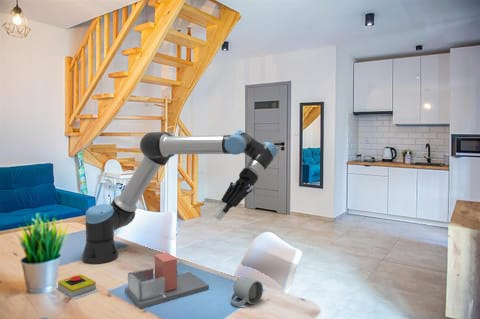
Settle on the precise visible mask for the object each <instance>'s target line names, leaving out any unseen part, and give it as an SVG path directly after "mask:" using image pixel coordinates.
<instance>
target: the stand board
mask: <svg viewBox="0 0 480 319" xmlns="http://www.w3.org/2000/svg"><path fill="white" fill-rule="evenodd" d="M209 289H210V284H208V283H206V282H205V280H204V281H203V280H202V279H201V278H199V277H198V276H196V275H195V274H193V272H191V271H188V272H185V273H184V272H183V273H179V274H178V275H177V289H173V290H169V291H166V292H165V295H162V296H159V297H155V298H151V299H148V300H144V301H140V302H139V301H138V300H137V299H136V297H135V296H134V295H133V294H132V293H131V292H130V291H129V290H128V286H126V287H125V288H124V292H125V294H126V295H127V296H128V298H129V299H131V300H132V302H133V303H134V304H135V305H136V306H137V307H138V309H140V310H141V309H145V308H147V307H152V306H154V305H158V304H162V303H165V302H169V301H172V300H175V299H176V300H177V299H179V298H182V297H186V296H190V295H193V294H197V293H200V292H204V291H208V290H209Z"/></svg>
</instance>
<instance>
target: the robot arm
mask: <svg viewBox="0 0 480 319" xmlns="http://www.w3.org/2000/svg"><path fill="white" fill-rule="evenodd" d="M139 149H140V151H141V153H142V154H143V157H142V160H141V161H140V163H139V165H138V166H137V167H136V168H135V171H134V172H133V174H132V176H131V177H130V179H129V180H128V182H127V184H126V185H125V186H124V188H123V190H122V191H121V192H120V194H119V195H116V196H115V197H114V198H113V199H112V201H111V203H110V204H109V203H107V204H106V203H105V204H103V203H102V204H97V205H93V206H90V207H89V208H88V209H87V210H86V211H85V218H84V221H85V238H86V239H85V241H86V242H85V244H84V249H83V251H82V254H81V260H82V262H83V263H86V264H88V265H89V264H91V265H98V264H99V265H100V264H106V263H110V262H112V261H114V260H117V259H118V258H119V250H118V248H117V245H116V242H115V237H114V236H115V233H114V232H115V231H116V230H118V229H121V228H123V227H126V226H128V225H130V223H132V222H133V220H134V219H135V217H136V211H137V209H138V208H137V203H138V202H139V200H140V198H142V195H143V193H145V190H146V189H147V188H148V186H149V185H150V183H151V182H152V180H153V178H154V177H155V175H156V174H157V172H158V171H159V169H160V168H161V167H164V166H166V164H167V163H168V162H169V160H170V159H171V158H172V157H174V156H176V155H225V154H226V155H240V154H244V155H246V156H248V157H249V158H251V159H250V160H249V161H248V162H247V164H245V166H244V168H243V169H242V170H241V171H240V173H239V174H238V176H239V178H238V179H237V180H236V181H235V182H233V181H231V182H230V183H229V186H228V188H227V189H226V191H225V193H224V194H223V196H222V198H221V202H222V203H221V204H220V206H219V207H218V209H217V210H216V211H215V213H214V214H213V217H215V218H216V219H217V220H218V221H221V220H222V219H223V218H224V217H225V215H226V214H228V212H229V211H230V209H231V208H233V207H234V208H236V207H237V206H238V205H239V204H240V203H241V202H242V201H243V200H244V199H245V198H246V197H247V196H248V195H249V194H250V193H252V192H253V189H252V186H255V185H256V183H257V182H258V180H259V178H261V176H262V175H263V174H264V172H265V171H266V169H267V168H268V167H269V166H270V164H271V163H272V162H273V161H274V158H275V157H276V156H277V154H278V148H277V146H275V144H273V143H272V142H269V141H265V142H262V143H261V142H259V141H258V140H256V139H255V138H254V137H252V136H250V135H249V134H248V133H247V132H245V131H243V130H241V129H238V130H237V131H236V132H234V134H226V135H224V134H218V135H217V134H215V135H213V134H212V135H182V136H181V135H179V136H178V135H177V136H176V135H175V134H173V133H170V132H167V131H161V132H158V131H157V132H156V131H154V132H153V131H151V132H148V133H146V134H145V135H143V136H142V138H141V139H140V142H139Z"/></svg>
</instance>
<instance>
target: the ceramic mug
mask: <svg viewBox="0 0 480 319" xmlns="http://www.w3.org/2000/svg"><path fill="white" fill-rule="evenodd" d="M263 287H264V286H263V284H262V282H261V281H259V280H256V279H253V278H250V277H246V276H240V277H238V278H237V279H236V280H235V282H234V284H233V293H232V294H231V296H230V303H231V305H232V306H234V307H242V306H243V305H245V304H246V303H248V304H250V305H256V304H257V303H258V302H260V300H261V299H262V296H263V292H264V288H263ZM236 297H237V298H238V299H241V300H240V301H237V302H235V301H234V299H235V298H236Z"/></svg>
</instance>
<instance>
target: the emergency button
mask: <svg viewBox="0 0 480 319" xmlns="http://www.w3.org/2000/svg"><path fill="white" fill-rule="evenodd" d="M57 286H58V289H59V290H58V289H57V290H58V291H60V292H62V293H64V294H65V295H66V296H68V297H70V298H71V299H73V300H79V299H82V298H84V297H87V296H89V295H92V294H96V293H98V292H100V289H98V288H97V283H96V280H93V279H91V278H89V277H88V276H86V275H83V274H78V275H73V276H71V277H66V278H64V279H61V280H58V282H57Z"/></svg>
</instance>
